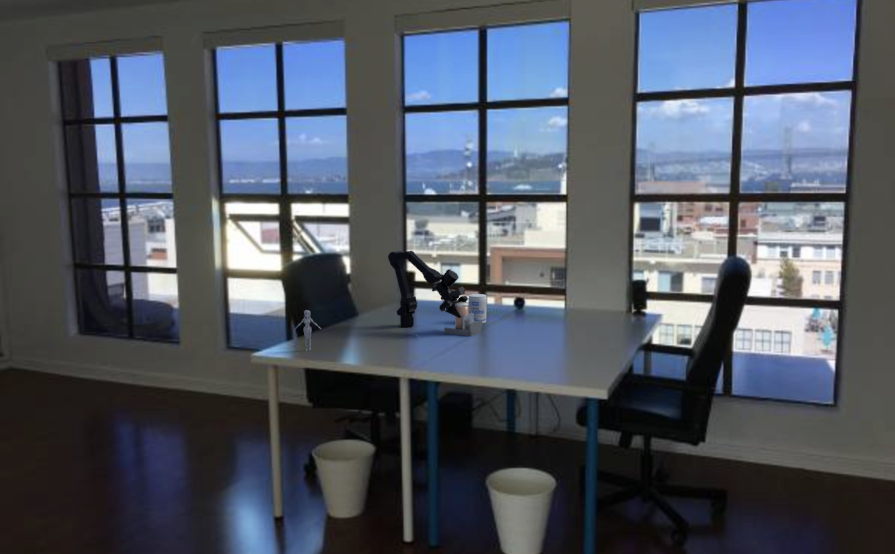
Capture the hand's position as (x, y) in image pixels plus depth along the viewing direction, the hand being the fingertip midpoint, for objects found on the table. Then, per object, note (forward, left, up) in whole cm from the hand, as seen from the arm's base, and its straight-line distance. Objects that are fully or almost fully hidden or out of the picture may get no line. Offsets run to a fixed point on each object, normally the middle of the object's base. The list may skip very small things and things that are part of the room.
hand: (464, 316), depth 346 cm
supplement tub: (+13, +25, -9) cm, 30 cm away
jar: (-1, +1, -7) cm, 7 cm away
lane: (0, 0, -8) cm, 8 cm away
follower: (+1, -1, -8) cm, 9 cm away
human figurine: (-75, -17, -9) cm, 78 cm away
